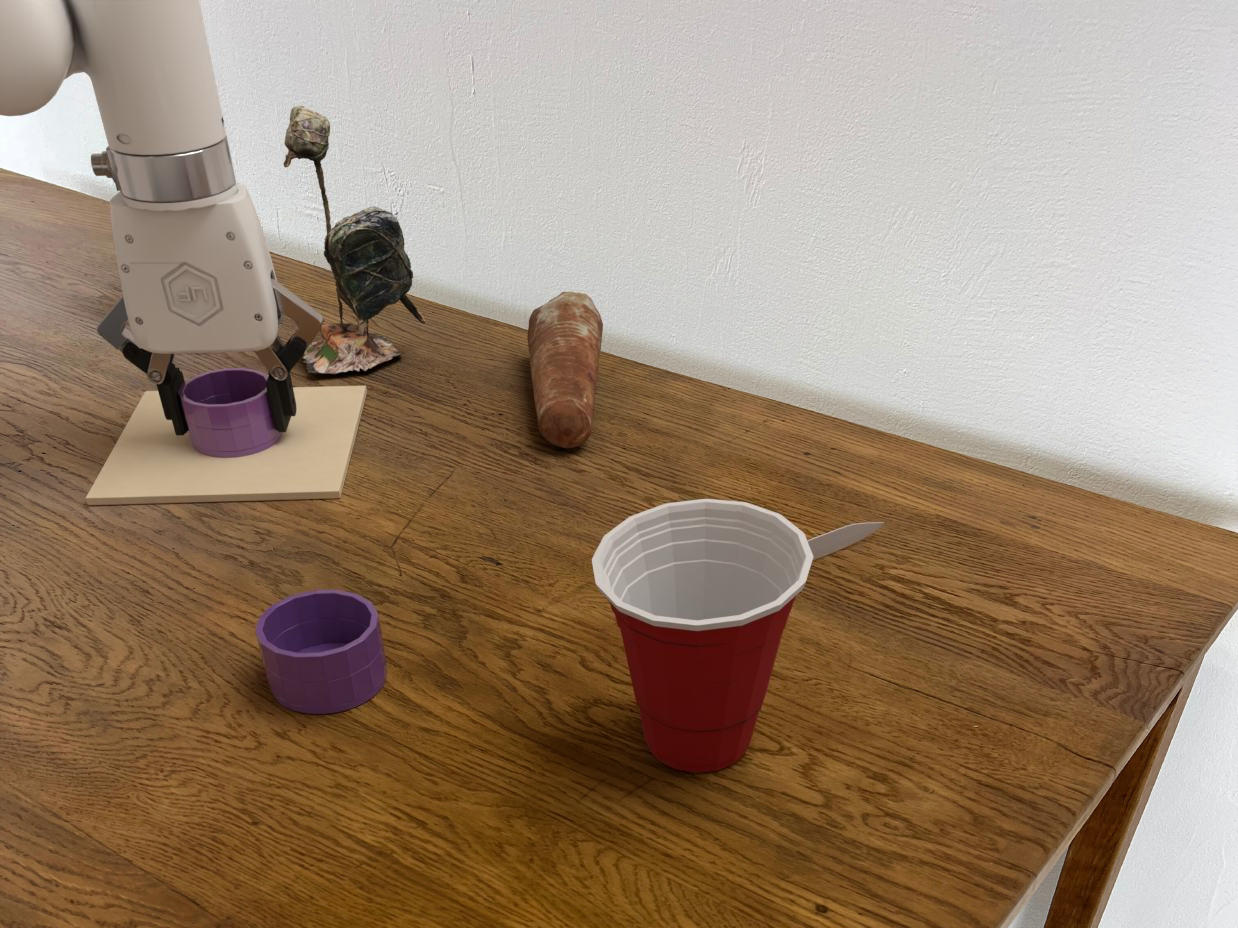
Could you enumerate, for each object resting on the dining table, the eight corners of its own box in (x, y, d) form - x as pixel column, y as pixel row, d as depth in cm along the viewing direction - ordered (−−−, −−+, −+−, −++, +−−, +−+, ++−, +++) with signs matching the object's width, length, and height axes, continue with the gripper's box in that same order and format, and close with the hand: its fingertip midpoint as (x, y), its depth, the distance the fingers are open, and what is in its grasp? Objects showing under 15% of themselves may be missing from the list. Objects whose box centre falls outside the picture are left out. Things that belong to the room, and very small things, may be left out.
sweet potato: (603, 354, 108) (602, 288, 104) (598, 457, 94) (597, 385, 90) (531, 355, 108) (527, 288, 104) (515, 457, 94) (510, 385, 90)
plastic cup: (556, 735, 70) (545, 544, 61) (699, 661, 75) (707, 476, 66) (688, 837, 63) (695, 639, 55) (834, 748, 68) (860, 556, 60)
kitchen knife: (669, 622, 78) (670, 594, 76) (660, 614, 78) (661, 587, 77) (887, 537, 85) (891, 511, 84) (878, 531, 86) (881, 505, 84)
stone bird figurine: (434, 370, 106) (405, 105, 92) (299, 383, 104) (249, 115, 91) (425, 334, 112) (396, 79, 98) (296, 346, 110) (249, 88, 96)
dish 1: (182, 459, 93) (169, 407, 90) (201, 419, 98) (189, 369, 95) (274, 456, 93) (263, 405, 91) (288, 416, 98) (278, 366, 96)
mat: (87, 505, 89) (85, 498, 89) (147, 397, 102) (145, 390, 102) (340, 498, 90) (339, 490, 89) (367, 392, 103) (366, 385, 102)
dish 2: (261, 716, 71) (246, 658, 68) (280, 647, 76) (266, 591, 73) (381, 712, 71) (371, 654, 68) (392, 644, 76) (383, 587, 73)
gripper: (26, 191, 80) (107, 452, 92) (298, 184, 80) (343, 445, 93) (59, 158, 85) (132, 408, 98) (314, 151, 86) (354, 401, 98)
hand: (234, 424), depth 95 cm, fingers closed on dish 1, 6 cm apart
